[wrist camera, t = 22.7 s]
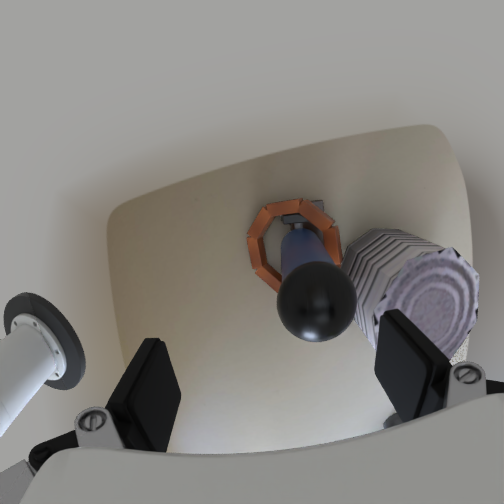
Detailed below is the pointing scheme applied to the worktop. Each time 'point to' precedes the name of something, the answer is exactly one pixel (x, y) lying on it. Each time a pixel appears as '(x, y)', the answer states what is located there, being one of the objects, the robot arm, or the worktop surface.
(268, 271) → the ring
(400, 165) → the worktop surface
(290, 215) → the bracket
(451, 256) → the can
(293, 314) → the microphone
